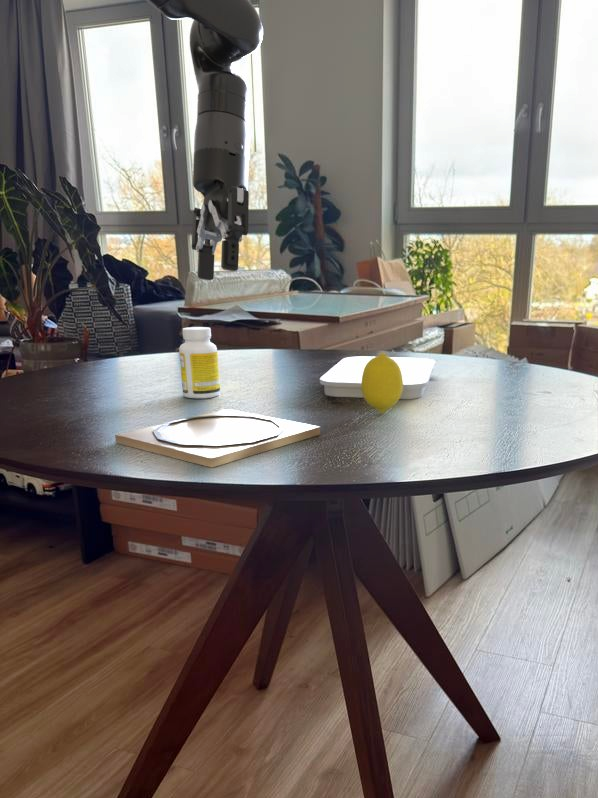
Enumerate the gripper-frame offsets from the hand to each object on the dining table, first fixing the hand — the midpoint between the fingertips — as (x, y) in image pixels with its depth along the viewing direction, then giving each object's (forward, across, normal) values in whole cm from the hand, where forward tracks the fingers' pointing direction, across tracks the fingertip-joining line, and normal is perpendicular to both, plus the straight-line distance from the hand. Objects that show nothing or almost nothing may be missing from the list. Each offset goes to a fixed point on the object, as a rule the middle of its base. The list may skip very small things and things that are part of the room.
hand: (217, 274), depth 102 cm
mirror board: (+23, +20, -7) cm, 31 cm away
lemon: (+19, +20, +16) cm, 31 cm away
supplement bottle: (+17, -4, 0) cm, 18 cm away
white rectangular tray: (+13, +2, +28) cm, 31 cm away
